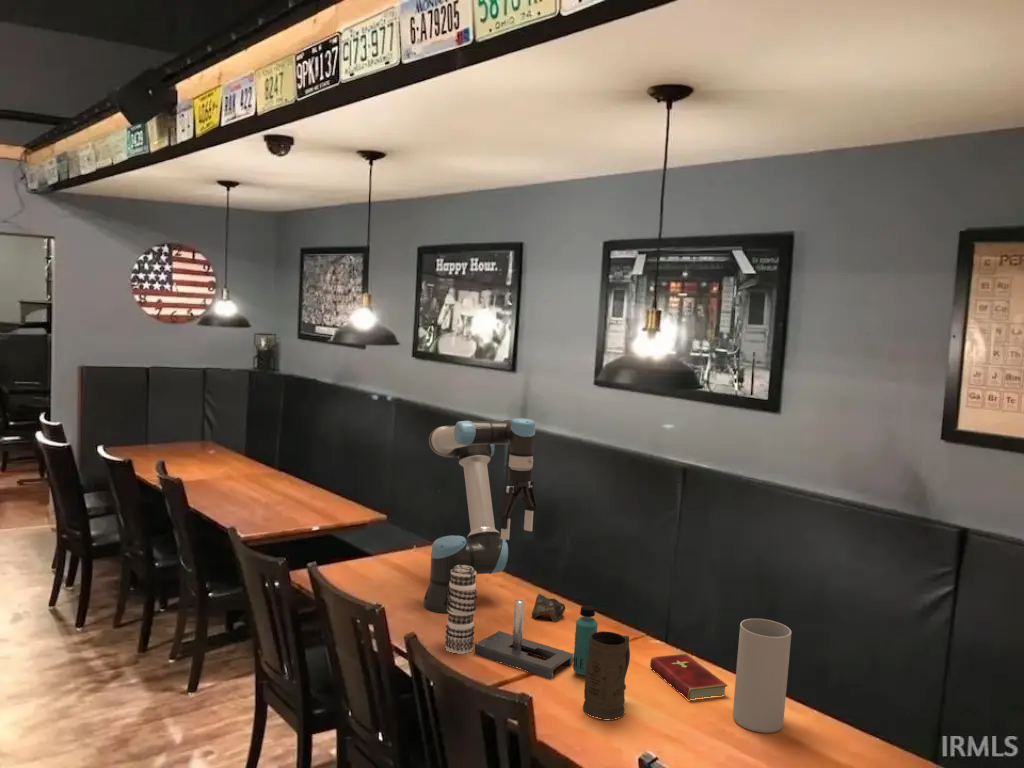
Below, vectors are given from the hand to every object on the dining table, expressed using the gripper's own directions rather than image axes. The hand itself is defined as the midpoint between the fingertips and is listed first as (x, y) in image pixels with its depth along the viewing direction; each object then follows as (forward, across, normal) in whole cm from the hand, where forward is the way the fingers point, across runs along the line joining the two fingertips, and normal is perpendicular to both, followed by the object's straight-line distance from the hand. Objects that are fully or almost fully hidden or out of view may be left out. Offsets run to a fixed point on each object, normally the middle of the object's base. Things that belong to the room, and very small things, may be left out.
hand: (516, 534), depth 258 cm
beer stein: (+32, -26, -47) cm, 62 cm away
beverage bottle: (+32, -13, -33) cm, 48 cm away
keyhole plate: (+32, -15, -14) cm, 38 cm away
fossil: (+32, +20, -2) cm, 38 cm away
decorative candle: (+32, -21, +5) cm, 39 cm away
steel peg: (+32, -15, -12) cm, 37 cm away
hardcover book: (+32, +2, -58) cm, 66 cm away
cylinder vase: (+32, -8, -81) cm, 87 cm away
